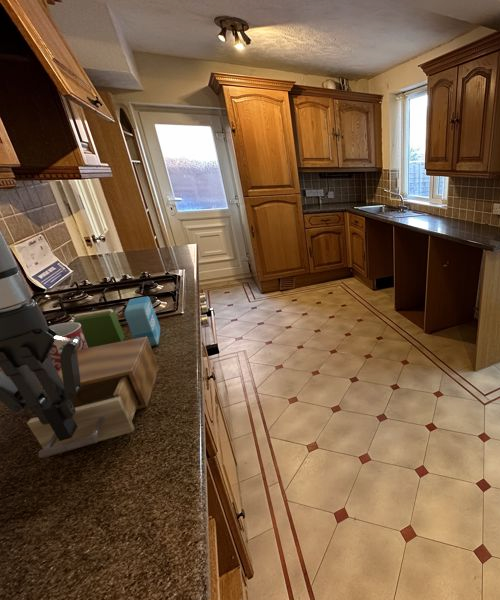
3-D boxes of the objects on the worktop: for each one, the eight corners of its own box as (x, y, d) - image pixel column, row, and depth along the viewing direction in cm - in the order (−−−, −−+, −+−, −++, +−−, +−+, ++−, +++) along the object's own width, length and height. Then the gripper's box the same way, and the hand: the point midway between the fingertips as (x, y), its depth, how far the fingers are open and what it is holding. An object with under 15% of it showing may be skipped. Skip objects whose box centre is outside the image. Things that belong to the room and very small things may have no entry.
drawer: (125, 455, 57) (108, 422, 54) (30, 485, 52) (6, 450, 49) (148, 388, 74) (136, 359, 71) (78, 405, 69) (62, 375, 66)
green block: (91, 343, 95) (77, 312, 91) (125, 336, 98) (112, 306, 94) (86, 349, 91) (71, 318, 87) (121, 342, 95) (108, 312, 91)
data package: (158, 346, 92) (144, 309, 87) (138, 351, 90) (123, 313, 85) (161, 329, 102) (148, 294, 97) (143, 333, 100) (130, 297, 95)
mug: (107, 364, 85) (86, 318, 79) (97, 383, 77) (73, 334, 72) (42, 378, 79) (14, 331, 74) (24, 401, 72) (-7, 349, 67)
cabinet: (147, 407, 70) (131, 370, 66) (64, 429, 64) (42, 390, 60) (159, 368, 83) (146, 336, 79) (91, 384, 77) (74, 350, 73)
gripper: (-99, 329, 39) (2, 466, 48) (46, 307, 44) (111, 435, 54) (-54, 305, 45) (27, 431, 54) (68, 289, 50) (122, 406, 60)
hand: (68, 433), depth 54 cm, fingers closed
